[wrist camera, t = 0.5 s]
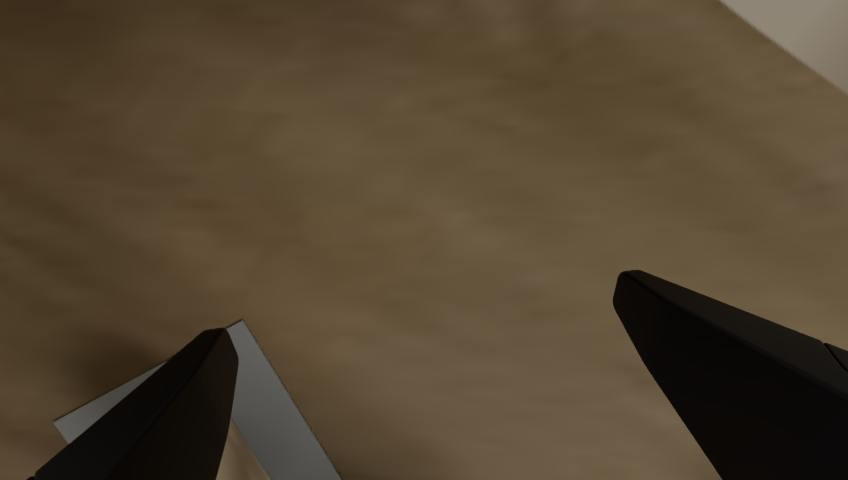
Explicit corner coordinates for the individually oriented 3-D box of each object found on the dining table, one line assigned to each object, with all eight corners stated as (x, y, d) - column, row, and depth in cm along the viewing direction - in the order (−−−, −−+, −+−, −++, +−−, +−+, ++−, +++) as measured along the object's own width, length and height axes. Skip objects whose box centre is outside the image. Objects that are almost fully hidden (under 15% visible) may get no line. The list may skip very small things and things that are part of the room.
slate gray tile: (363, 510, 24) (363, 515, 24) (191, 604, 24) (187, 612, 24) (245, 318, 23) (242, 320, 22) (59, 418, 22) (52, 423, 22)
